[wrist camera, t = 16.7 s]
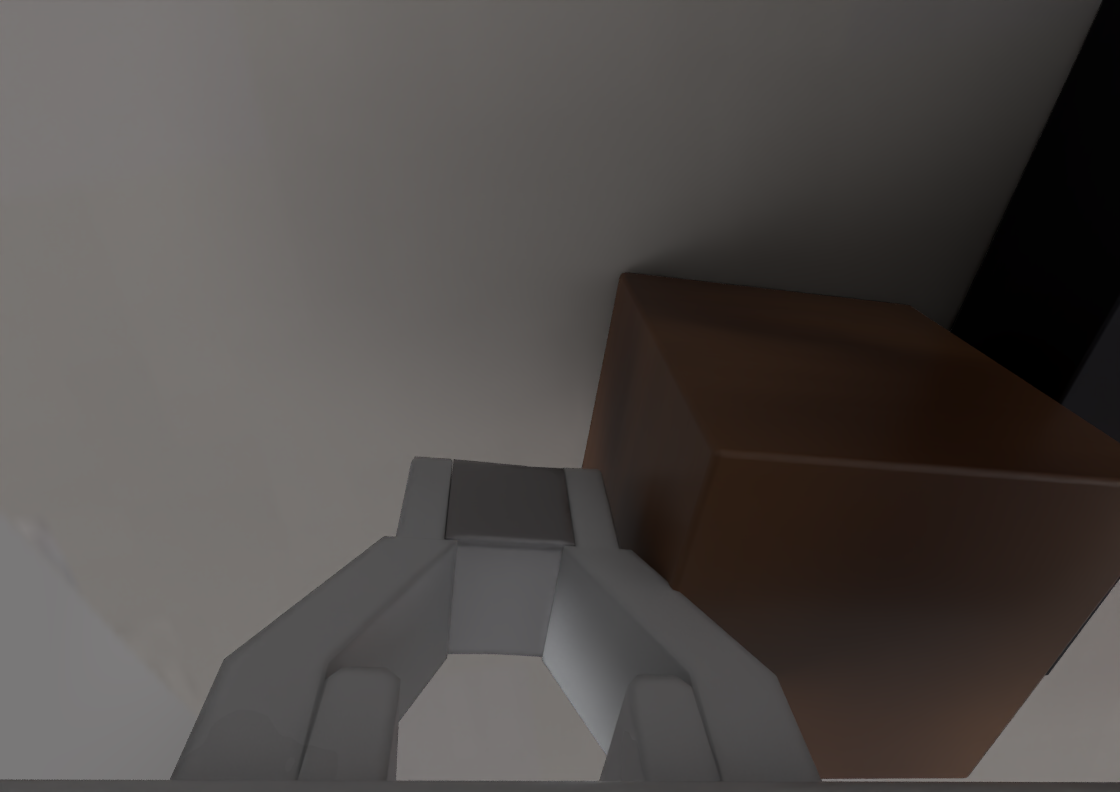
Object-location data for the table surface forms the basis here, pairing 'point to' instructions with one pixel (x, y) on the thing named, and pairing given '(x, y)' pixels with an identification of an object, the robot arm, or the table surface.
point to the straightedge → (1063, 250)
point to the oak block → (856, 509)
